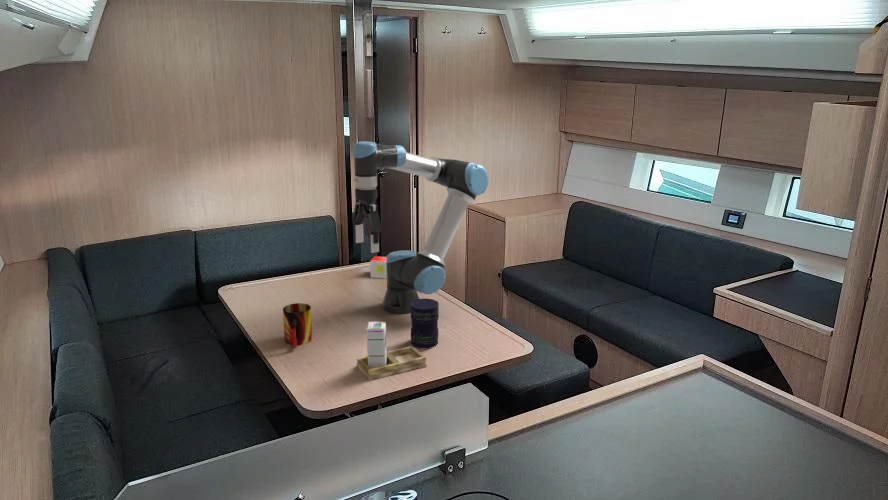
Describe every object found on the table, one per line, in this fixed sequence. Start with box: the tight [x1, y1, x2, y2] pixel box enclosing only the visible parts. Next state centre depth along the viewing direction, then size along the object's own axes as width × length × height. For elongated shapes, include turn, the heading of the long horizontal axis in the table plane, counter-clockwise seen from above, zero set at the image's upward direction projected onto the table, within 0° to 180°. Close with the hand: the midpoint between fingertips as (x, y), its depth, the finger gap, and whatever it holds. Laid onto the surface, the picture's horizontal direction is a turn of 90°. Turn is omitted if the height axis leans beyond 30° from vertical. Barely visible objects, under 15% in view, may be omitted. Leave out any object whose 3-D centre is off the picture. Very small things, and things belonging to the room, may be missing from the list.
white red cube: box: [369, 255, 387, 279], centre depth 299 cm, size 8×8×8 cm
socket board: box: [356, 345, 427, 381], centre depth 211 cm, size 20×11×3 cm, turn 120°
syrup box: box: [366, 321, 387, 369], centre depth 207 cm, size 6×6×14 cm
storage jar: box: [410, 298, 440, 349], centre depth 227 cm, size 10×10×15 cm
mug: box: [282, 302, 313, 349], centre depth 227 cm, size 10×14×12 cm
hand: (367, 247), depth 227 cm, fingers open, 13 cm apart
